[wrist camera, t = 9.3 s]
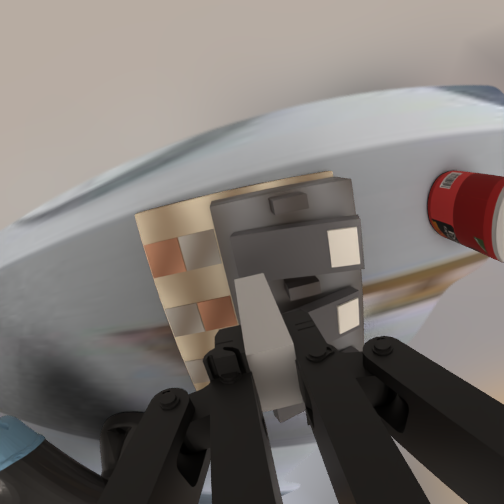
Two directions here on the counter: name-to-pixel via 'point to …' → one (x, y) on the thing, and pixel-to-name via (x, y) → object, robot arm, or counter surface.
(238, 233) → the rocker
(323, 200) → the switch unit
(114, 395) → the counter surface
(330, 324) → the rocker middle
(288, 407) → the rocker
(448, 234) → the canned food
